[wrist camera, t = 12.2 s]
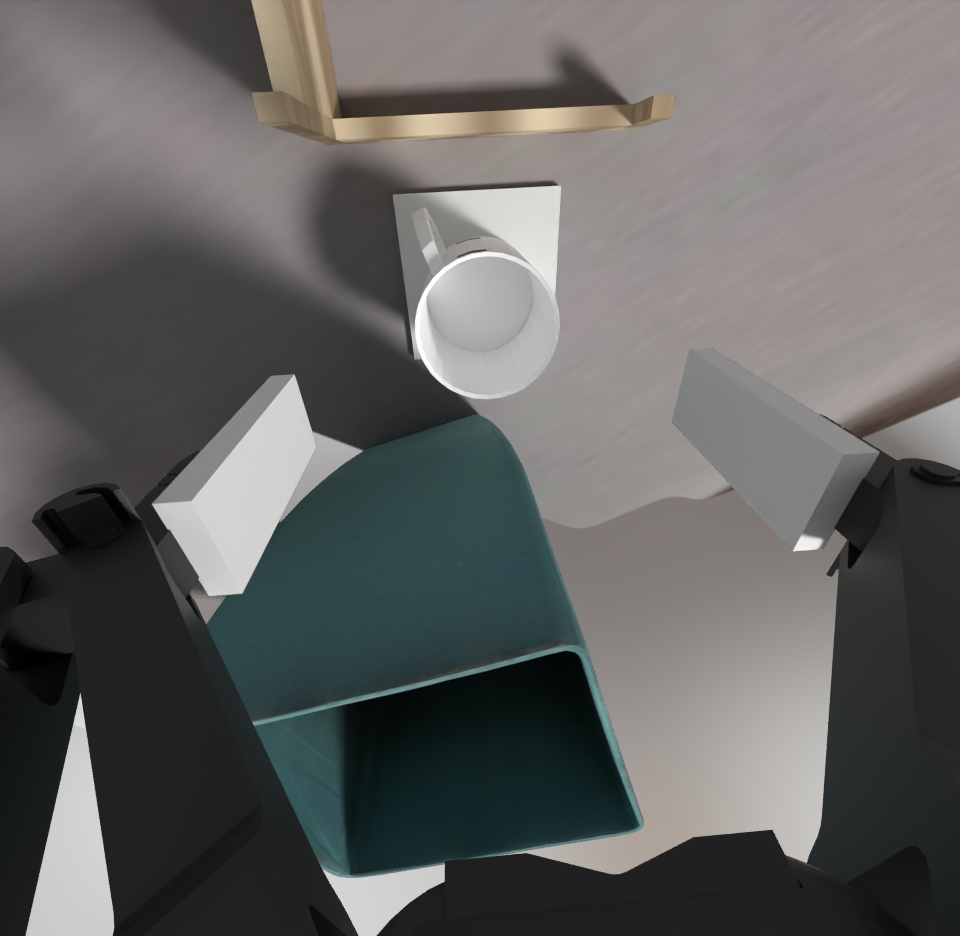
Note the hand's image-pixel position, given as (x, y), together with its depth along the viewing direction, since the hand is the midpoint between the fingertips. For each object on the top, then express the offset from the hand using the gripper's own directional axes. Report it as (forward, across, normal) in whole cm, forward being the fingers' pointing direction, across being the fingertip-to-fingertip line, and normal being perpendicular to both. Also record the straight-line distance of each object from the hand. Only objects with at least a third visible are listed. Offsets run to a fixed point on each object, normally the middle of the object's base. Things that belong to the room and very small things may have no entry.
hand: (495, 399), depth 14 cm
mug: (+23, 0, 0) cm, 23 cm away
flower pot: (+23, -4, -19) cm, 31 cm away
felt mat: (+23, +1, 0) cm, 23 cm away
